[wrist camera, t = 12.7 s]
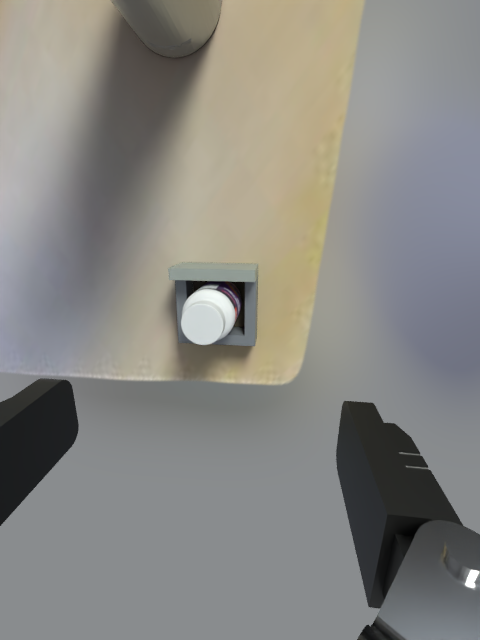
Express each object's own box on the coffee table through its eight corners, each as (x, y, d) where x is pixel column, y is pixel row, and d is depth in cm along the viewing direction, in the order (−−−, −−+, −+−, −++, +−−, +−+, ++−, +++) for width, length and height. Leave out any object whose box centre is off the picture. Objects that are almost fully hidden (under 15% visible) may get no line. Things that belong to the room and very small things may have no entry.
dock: (182, 262, 38) (168, 268, 33) (258, 263, 37) (255, 270, 32) (185, 334, 40) (173, 349, 36) (256, 337, 39) (253, 353, 35)
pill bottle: (248, 315, 39) (238, 344, 30) (207, 326, 40) (185, 358, 31) (234, 272, 37) (219, 288, 28) (192, 285, 39) (164, 305, 29)
